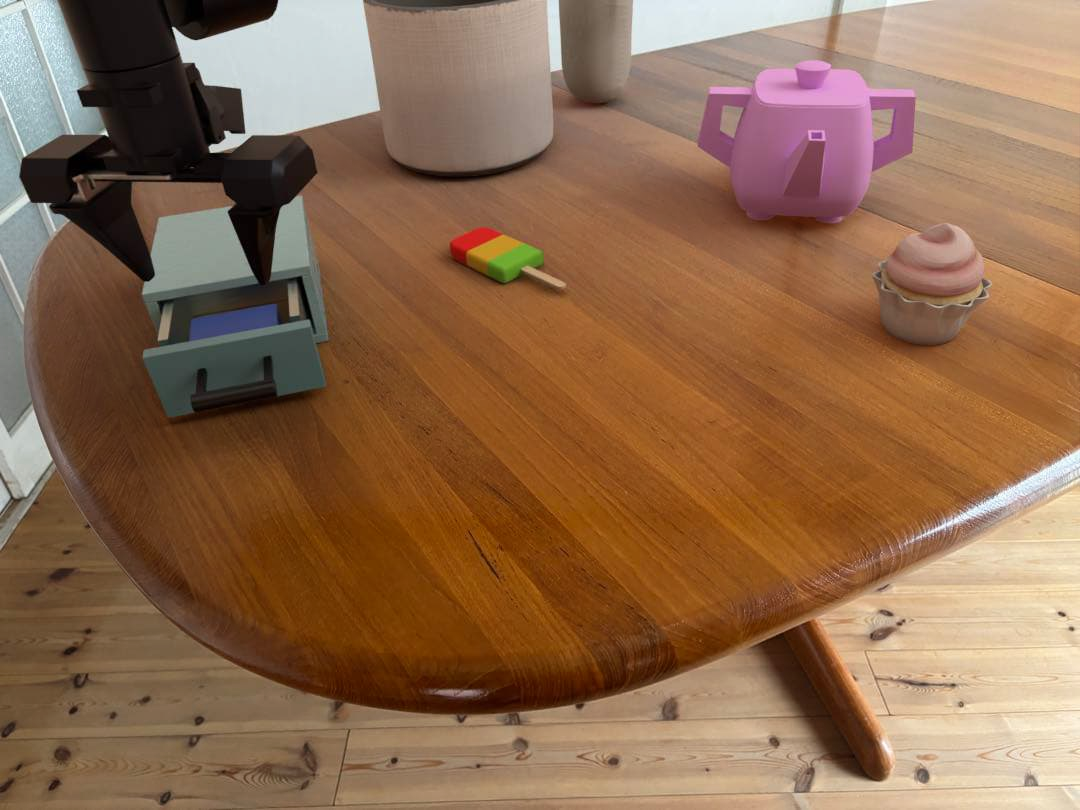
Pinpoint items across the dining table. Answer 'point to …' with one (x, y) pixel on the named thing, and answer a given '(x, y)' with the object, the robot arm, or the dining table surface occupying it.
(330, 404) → the dining table surface
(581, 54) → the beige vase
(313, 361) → the drawer
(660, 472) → the dining table surface
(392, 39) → the planter
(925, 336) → the cupcake
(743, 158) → the teapot
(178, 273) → the cabinet
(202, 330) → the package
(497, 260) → the popsicle
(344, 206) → the dining table surface
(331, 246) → the dining table surface
